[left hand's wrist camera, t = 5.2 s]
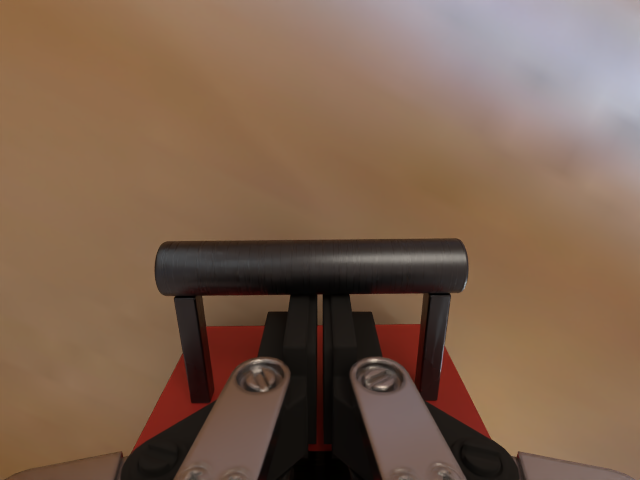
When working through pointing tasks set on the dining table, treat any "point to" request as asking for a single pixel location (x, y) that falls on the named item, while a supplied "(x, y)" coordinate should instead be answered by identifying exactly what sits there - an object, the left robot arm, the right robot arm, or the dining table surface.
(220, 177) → the dining table surface
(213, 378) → the drawer
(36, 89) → the dining table surface
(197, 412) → the left robot arm
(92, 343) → the dining table surface
